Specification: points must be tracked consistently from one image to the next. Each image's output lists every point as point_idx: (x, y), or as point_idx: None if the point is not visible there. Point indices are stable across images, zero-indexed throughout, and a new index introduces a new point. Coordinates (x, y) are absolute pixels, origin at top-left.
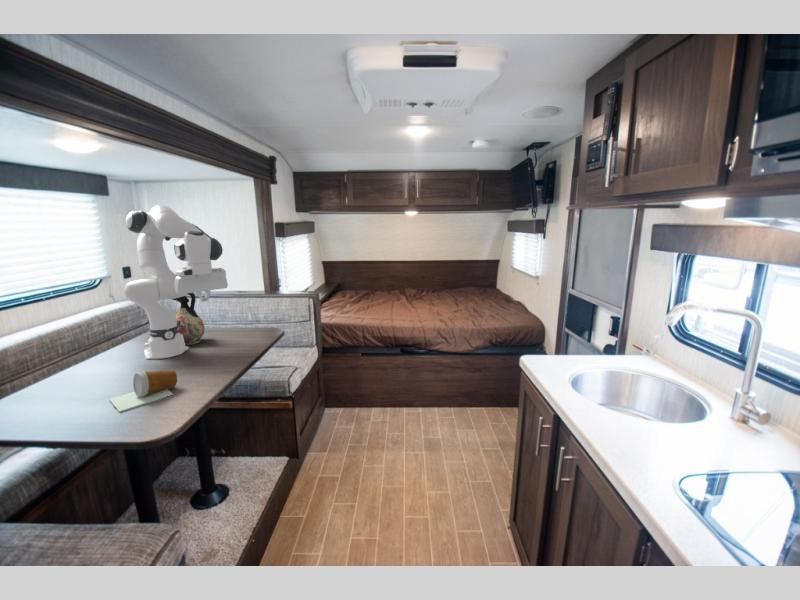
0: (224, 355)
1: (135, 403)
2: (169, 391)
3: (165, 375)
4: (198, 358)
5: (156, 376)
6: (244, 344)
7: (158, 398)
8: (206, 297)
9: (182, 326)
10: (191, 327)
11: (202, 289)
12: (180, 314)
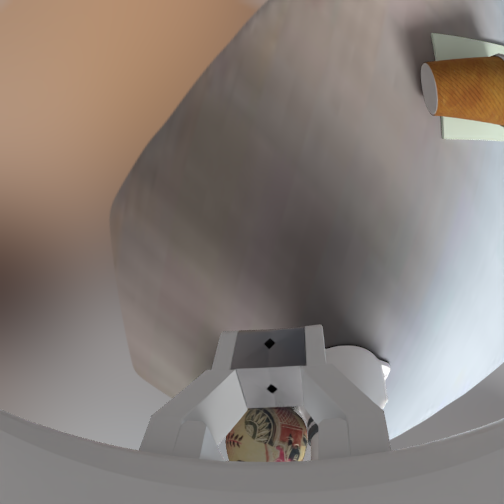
0: (217, 254)
1: None
2: (437, 54)
3: (462, 66)
4: (293, 286)
5: (486, 66)
6: (144, 307)
7: (461, 37)
8: (241, 365)
9: (287, 441)
10: (265, 432)
11: (299, 496)
12: None
